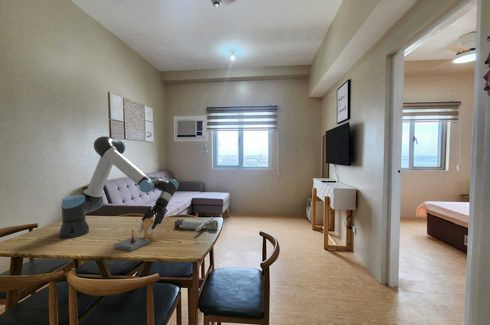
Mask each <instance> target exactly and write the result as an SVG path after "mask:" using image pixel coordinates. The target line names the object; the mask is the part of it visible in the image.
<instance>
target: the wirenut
mask: <svg viewBox="0 0 490 325" xmlns="http://www.w3.org/2000/svg"><path fill="white" fill-rule="evenodd" d="M152 223H154V219H153V218H147V219H145V220H144V230H143V238H146V239H152V238H153V237H154V230H153V231H152V232H151V234H150V235H149V234H147V233H146V232H147V231H148V229H149V227H150V226H151V224H152Z"/></svg>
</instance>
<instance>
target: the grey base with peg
mask: <svg viewBox="0 0 490 325" xmlns="http://www.w3.org/2000/svg"><path fill="white" fill-rule="evenodd" d="M130 233H131V234H130V235H131V236H130V237H128V238H126V239H124V240H122V241H119V242H115V243H114V248H116V249H121V250H124V251H129V252H133V251H136V250H137V249H139V248H142V247H144V246H146V245H148V244H150V243H151V240H150V239H151V238H144V237H139V236H135V228H131V229H130Z"/></svg>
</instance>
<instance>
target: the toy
mask: <svg viewBox="0 0 490 325" xmlns="http://www.w3.org/2000/svg"><path fill="white" fill-rule="evenodd" d="M173 227H174V229H178V227H181V228H182V229H184V230H185V229H186V230H194V233H197V232H198V231H199V232H200V231H201V229H204V228H207V229H208V230H212V231H217V230H218V229H219V222H218V220H216V219H214V217H213V216H211V217H209V218H208V219H206V220H201V219H199V220H198V219H191V218H185V219H177V220H175V221H174V226H173Z"/></svg>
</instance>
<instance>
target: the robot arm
mask: <svg viewBox="0 0 490 325" xmlns="http://www.w3.org/2000/svg"><path fill="white" fill-rule="evenodd" d="M93 149H94V151H95V152H96V154H98V155H99V160H98V162H97V165H96V167H95V169H94V172H93V174H92V177H91V179H90V181H89V184H88V187H87V189H84V190H83V191H82V194H74V195H70V196H66V197H64V198H63V199H62V200H61V220H62V221H61V225H60V229H59V231H58V237H59V239H61V238H62V239H70V238H77V237H81V236H84V235H86V234H89V232H90V227H89V224H88V223H87V219H86V214H88V213H91V212H94V211H97V210H99V209H100V208H101V207H102V206H103V204H104V194H103V190H104V187H105V185H106V183H107V181H108V180H107V179H108V178H109V175H110V172H111V170H112V168H113V166H115V168H116V169H117V170H120V172H122V173H123V174H124V176H127V177H128V179H130V180H131V181H133V183H135V184H136V185H137V186H138V188H139V191H141V192H142V193H144V194H145V193H146V194H147V193H150V192H151V193H152V192H153V191H156V190H158V191H161V192H160V194H159V195H158V197H157V199H156V201H155V203H154V205H153V206H148V208H147V211H146V212H145V213H144V215H143V216H142V217H141V221H142V223H141V224H140V227H139V228H138V230H137V232H138V233H139V234H142V233H144V220H145V219H147V218H152V217H154V215H155V217H154V219H153V218H152V219H153V223H152V224H151V226H150V227H149V229H148V231H147V232H146V233H147V234H149V235H150V234H151V232H152V231H153V232H154V230H155V228H156V227H157V225H161V224H162V222H163V220H164V217H165V216H166V214H167V212H168V208H167V207H168V206H169V203H170V201H171V200H172V198H173V197H174V194H175V193H176V192H177V190H178V187H179V185H180V184H179V182H178V181H177V180H176V179H173V178H170V179H169V180H165V179H163V178H160V177H158V176H156V175H155V176H154V175H150V176H148V175H146V174H145V173H144V172H143V171H142V170H140V169H139V168H138V167H137V166H136V165H135V164H134V163H132V162H131V161H130V160H129V159H127V158H126V157H125V156H124V155H122V154H124V153H125V151H126V144H125V142H124V141H123V140H122V139H121V138H118V137H114V136H113V137H112V136H111V137H110V136H106V135H105V136H103V135H102V136H100V137H98V138H96V139H95V140H94V142H93Z"/></svg>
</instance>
